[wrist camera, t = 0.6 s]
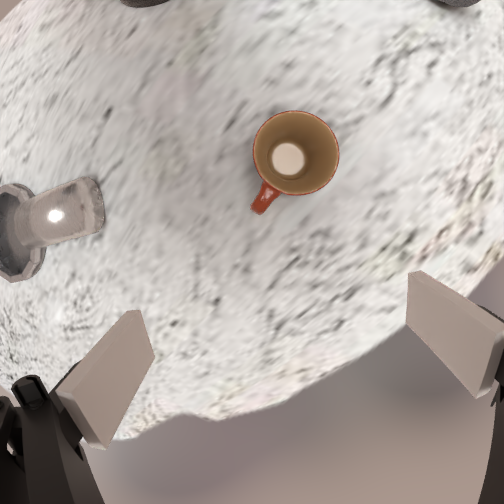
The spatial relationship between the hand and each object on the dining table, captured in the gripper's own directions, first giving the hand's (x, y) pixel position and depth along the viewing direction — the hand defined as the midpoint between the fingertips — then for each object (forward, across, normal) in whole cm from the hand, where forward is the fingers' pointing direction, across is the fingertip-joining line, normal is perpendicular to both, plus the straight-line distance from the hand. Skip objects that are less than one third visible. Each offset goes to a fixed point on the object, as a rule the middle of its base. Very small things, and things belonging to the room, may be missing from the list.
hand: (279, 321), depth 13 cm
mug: (+27, +3, +8) cm, 29 cm away
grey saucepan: (+27, -38, +7) cm, 47 cm away
